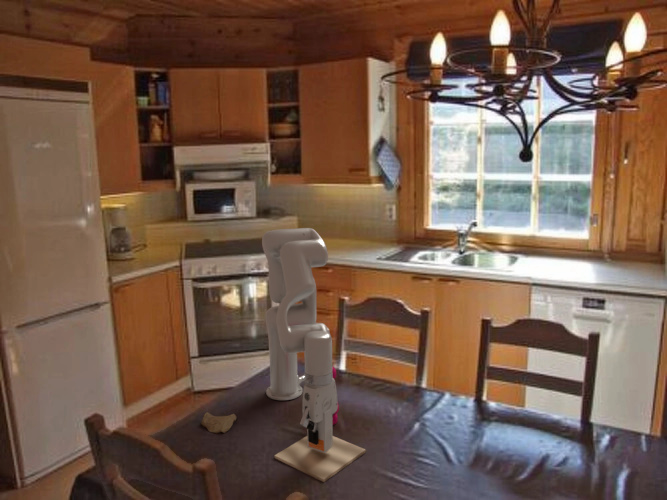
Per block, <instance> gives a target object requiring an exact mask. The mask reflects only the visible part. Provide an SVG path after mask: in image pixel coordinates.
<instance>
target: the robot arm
mask: <svg viewBox="0 0 667 500" xmlns="http://www.w3.org/2000/svg"><path fill="white" fill-rule="evenodd" d="M261 239H262V240H261V245H262V246H261V247H262V250H263V253H264V256H265V258H266V260H267V264H268V291H269V292H268V293H269V298H270V300H271V301H272V302H273V303H276V304H279V305H275V306H272V307H270V308H269V309H267V310H266V312H265V315H264V318H265V325H266V326H265V327H266V331H267V337H268V352H269V356H268V357H269V376H270V378H269V379H270V381H269V382H270V386H268V387H267V389H266V390H265V392H266V396H267V397H268V398H269V399H272V400H275V401H289V400H294V399H297V398H299V397H301V395H302V407H301V408H302V409H301V410H302V416H301V419H300V423H299V424H300V426H302V427H304V428H305V429H306V430H307V429H308V441H309V442H311V443H313V444H315V445H317V444H318V431H317V424H318V422H320V421H322V420H323V413H324V412H326V411H328V410H329V409H331V415H332V417H333V415H334V413H335V412H336V411H337V408H338V405H339V403H338V404H337V402H338V393H337V386H336V380H335V379H334V378H333V375H332V366H333V338H332V335H331V333H330V329H329V327H328V326H327V325H326V324H325V323H322V322H317V285H316V280H315V278H314V275H313V269H312V268H319V267H324V266H326V265H327V263H328V261H329V253H328V248H327V245H326V243H325V241H324V239H323V238H322V237H321V235H319V233H318V232H317V231H316V230H315V229H314V228H311V227H301V228H300V227H299V228H279V229H273V230H267V231H266V232H264V234H263V235H262V237H261ZM298 353H304V354H303V355H304V374H303V375H301V376H299V375H298ZM334 380H335V381H334ZM302 382H303V383H304V385H303V387H302V386H301V385H300V384H302ZM311 421H312V422H313V426H312V425H311ZM332 421H333V418H332Z"/></svg>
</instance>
